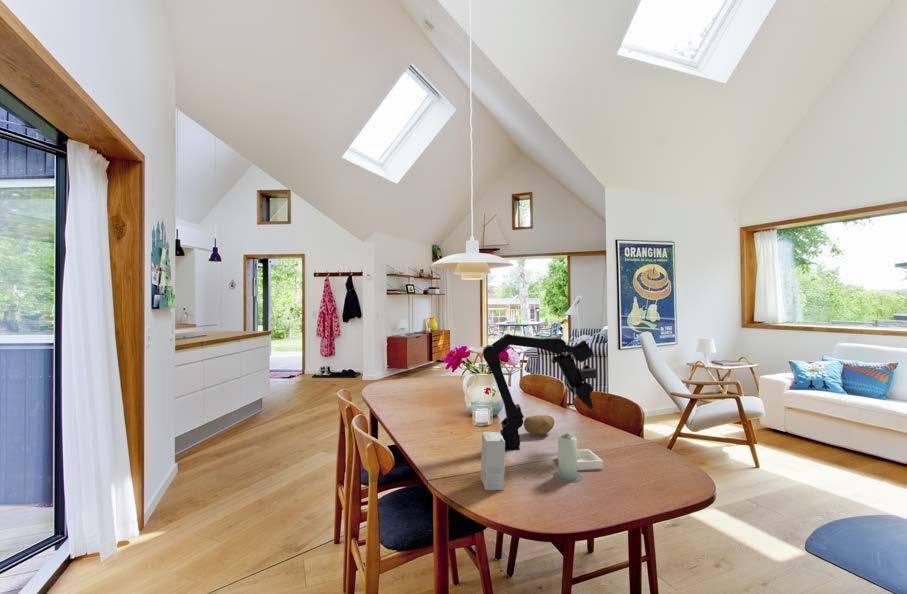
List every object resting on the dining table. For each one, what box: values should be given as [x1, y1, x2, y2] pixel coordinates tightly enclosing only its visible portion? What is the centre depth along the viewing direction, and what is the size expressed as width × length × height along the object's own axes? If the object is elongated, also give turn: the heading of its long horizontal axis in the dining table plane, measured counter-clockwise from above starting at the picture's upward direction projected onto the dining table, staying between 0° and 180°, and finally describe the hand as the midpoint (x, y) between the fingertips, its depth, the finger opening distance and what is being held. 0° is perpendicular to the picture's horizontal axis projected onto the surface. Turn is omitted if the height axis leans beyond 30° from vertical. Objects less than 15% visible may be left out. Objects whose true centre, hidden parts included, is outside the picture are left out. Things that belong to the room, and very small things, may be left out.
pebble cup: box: [557, 432, 578, 480], centre depth 138 cm, size 6×6×14 cm
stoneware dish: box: [556, 448, 604, 471], centre depth 149 cm, size 11×11×3 cm
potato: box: [523, 414, 555, 437], centre depth 183 cm, size 10×14×8 cm
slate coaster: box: [552, 471, 584, 484], centre depth 138 cm, size 9×9×1 cm
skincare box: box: [480, 431, 506, 491], centre depth 133 cm, size 8×6×15 cm
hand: (588, 405), depth 167 cm, fingers open, 9 cm apart
